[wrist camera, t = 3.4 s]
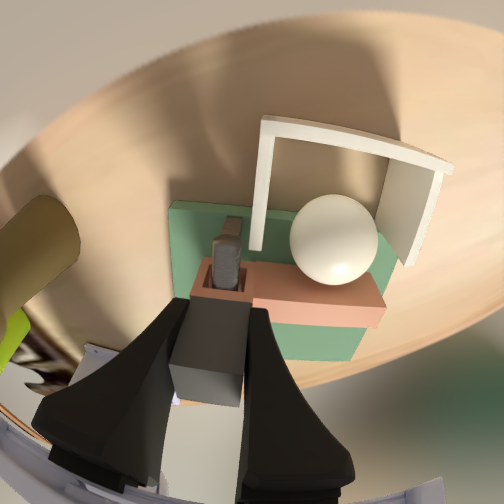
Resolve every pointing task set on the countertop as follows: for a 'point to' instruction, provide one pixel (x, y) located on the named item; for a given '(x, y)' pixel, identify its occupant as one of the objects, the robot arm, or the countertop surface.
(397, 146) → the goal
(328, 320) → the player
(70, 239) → the cork
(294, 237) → the ball
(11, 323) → the soap dispenser
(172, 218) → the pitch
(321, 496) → the robot arm
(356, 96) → the countertop surface
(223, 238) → the rod
